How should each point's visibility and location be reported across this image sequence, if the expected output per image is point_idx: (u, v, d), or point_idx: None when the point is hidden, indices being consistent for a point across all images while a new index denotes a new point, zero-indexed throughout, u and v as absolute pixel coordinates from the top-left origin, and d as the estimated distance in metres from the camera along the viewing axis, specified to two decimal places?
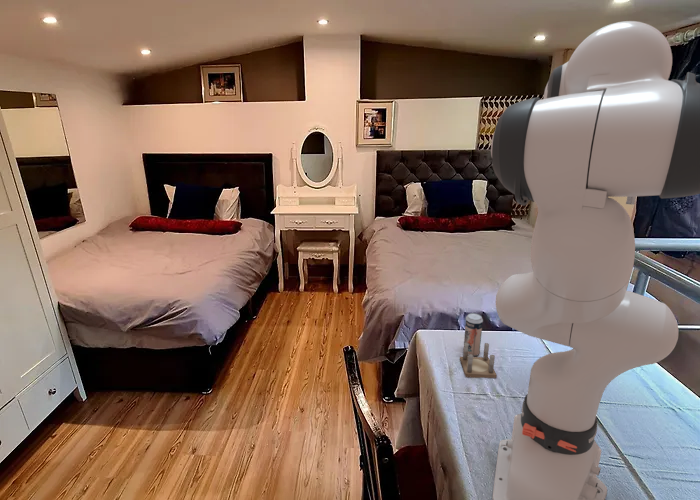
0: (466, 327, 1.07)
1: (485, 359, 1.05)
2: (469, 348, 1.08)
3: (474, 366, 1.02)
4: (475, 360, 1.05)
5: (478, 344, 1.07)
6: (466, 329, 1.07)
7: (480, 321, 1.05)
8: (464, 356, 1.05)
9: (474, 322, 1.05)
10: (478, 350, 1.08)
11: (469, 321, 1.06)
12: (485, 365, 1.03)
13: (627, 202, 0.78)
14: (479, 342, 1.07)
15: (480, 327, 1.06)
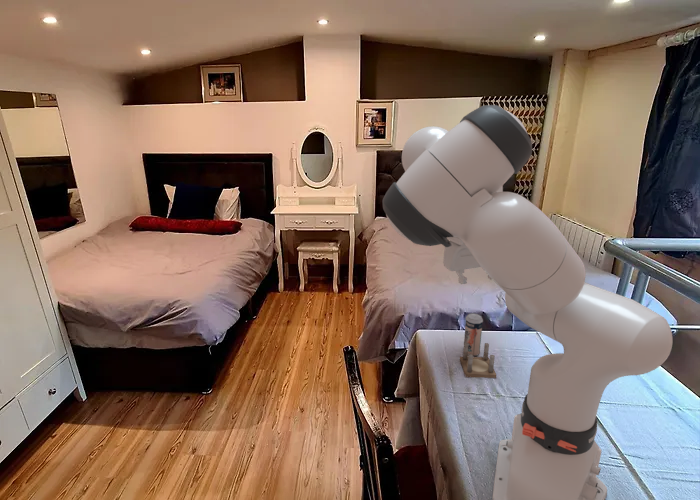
0: (466, 327, 1.07)
1: (485, 359, 1.05)
2: (469, 348, 1.08)
3: (474, 366, 1.02)
4: (475, 360, 1.05)
5: (478, 344, 1.07)
6: (466, 329, 1.07)
7: (480, 321, 1.05)
8: (464, 356, 1.05)
9: (474, 322, 1.05)
10: (478, 350, 1.08)
11: (469, 321, 1.06)
12: (485, 365, 1.03)
13: None
14: (479, 342, 1.07)
15: (480, 327, 1.06)
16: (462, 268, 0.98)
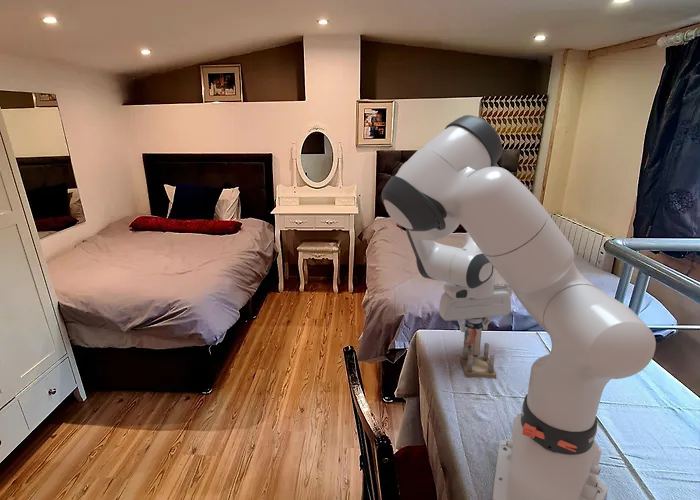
0: None
1: (485, 359, 1.05)
2: (469, 348, 1.08)
3: (474, 366, 1.02)
4: (475, 360, 1.05)
5: (478, 344, 1.07)
6: None
7: (480, 321, 1.05)
8: (464, 356, 1.05)
9: (474, 322, 1.05)
10: (478, 350, 1.08)
11: (469, 321, 1.06)
12: (485, 365, 1.03)
13: None
14: (479, 342, 1.07)
15: (479, 327, 1.06)
16: (456, 318, 1.04)
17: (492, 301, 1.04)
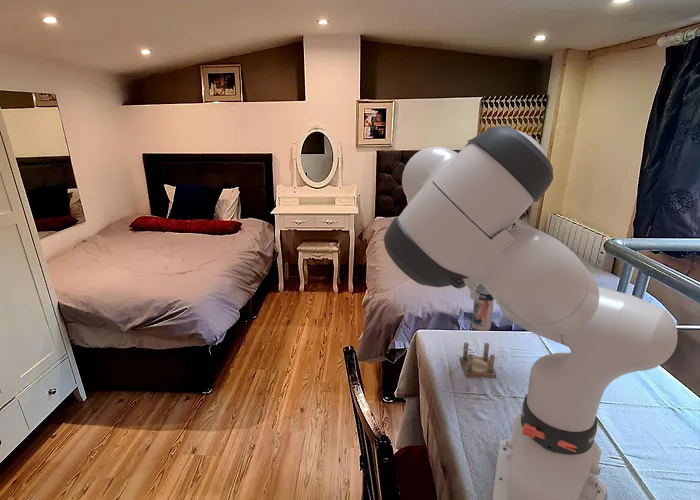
0: (476, 299, 0.96)
1: (485, 359, 1.05)
2: (480, 323, 0.97)
3: (474, 366, 1.02)
4: (475, 360, 1.05)
5: (489, 317, 0.96)
6: (476, 301, 0.96)
7: None
8: (464, 356, 1.05)
9: (486, 293, 0.94)
10: (489, 324, 0.97)
11: (480, 292, 0.94)
12: (485, 365, 1.03)
13: None
14: (490, 315, 0.97)
15: (492, 298, 0.95)
16: (469, 284, 0.91)
17: None
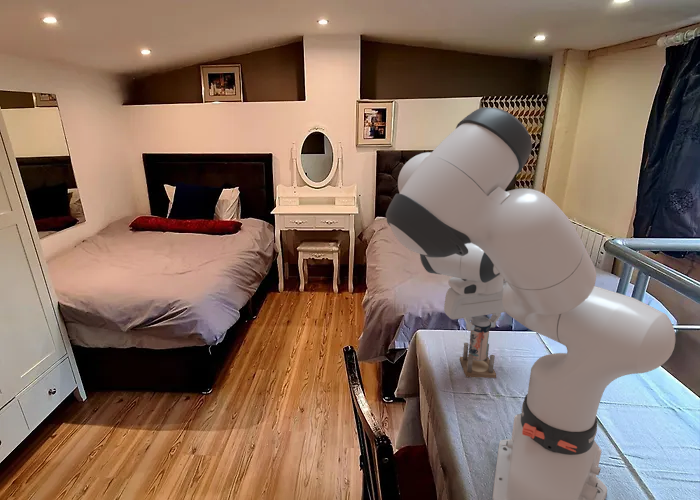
0: None
1: (485, 359, 1.05)
2: (475, 353, 1.00)
3: (474, 366, 1.02)
4: (475, 360, 1.05)
5: (485, 348, 0.99)
6: (472, 332, 0.99)
7: (487, 324, 0.97)
8: (464, 356, 1.05)
9: (481, 325, 0.97)
10: (485, 354, 1.00)
11: (476, 324, 0.97)
12: (485, 365, 1.03)
13: None
14: (486, 346, 0.99)
15: (487, 330, 0.97)
16: (463, 316, 0.95)
17: (501, 296, 0.96)
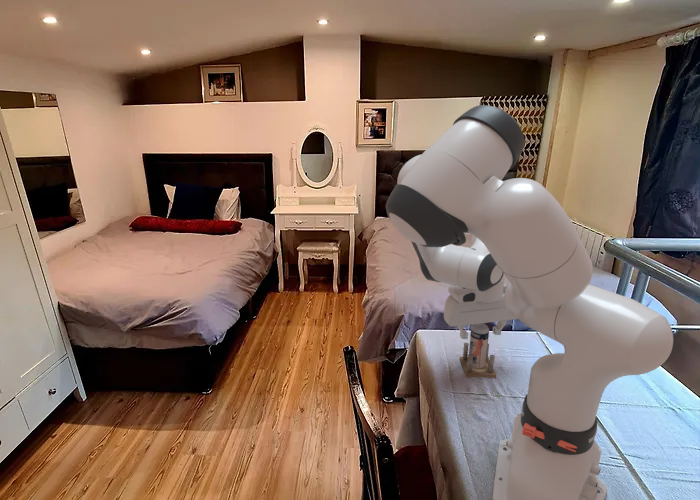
0: (471, 337, 1.00)
1: None
2: (474, 360, 1.01)
3: None
4: None
5: (484, 356, 1.00)
6: (471, 340, 1.00)
7: (486, 331, 0.98)
8: (464, 356, 1.05)
9: (480, 332, 0.98)
10: (484, 362, 1.01)
11: (475, 331, 0.98)
12: None
13: None
14: (485, 354, 1.00)
15: (486, 337, 0.98)
16: (462, 324, 0.96)
17: (501, 305, 0.96)
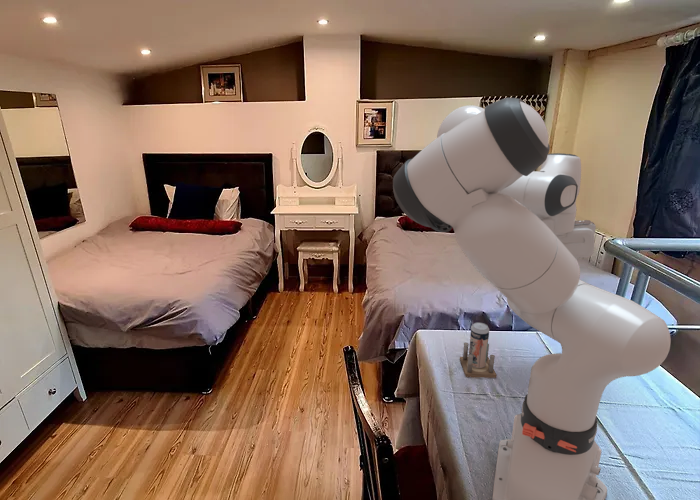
0: (471, 337, 1.00)
1: None
2: (474, 360, 1.00)
3: None
4: None
5: (484, 356, 1.00)
6: (471, 340, 1.00)
7: (486, 331, 0.98)
8: (464, 356, 1.05)
9: (480, 332, 0.98)
10: (484, 362, 1.01)
11: (475, 331, 0.98)
12: None
13: None
14: (485, 354, 1.00)
15: (486, 337, 0.98)
16: None
17: (572, 240, 0.90)
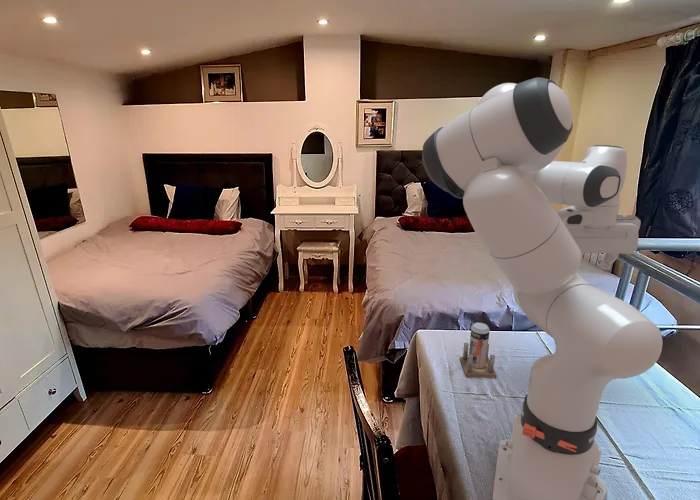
0: (471, 337, 1.00)
1: None
2: (474, 360, 1.00)
3: None
4: None
5: (484, 356, 1.00)
6: (471, 339, 1.00)
7: (487, 331, 0.98)
8: (464, 356, 1.05)
9: (480, 332, 0.98)
10: (484, 362, 1.01)
11: (475, 331, 0.98)
12: None
13: None
14: (485, 354, 1.00)
15: (486, 337, 0.98)
16: None
17: (614, 234, 0.89)
